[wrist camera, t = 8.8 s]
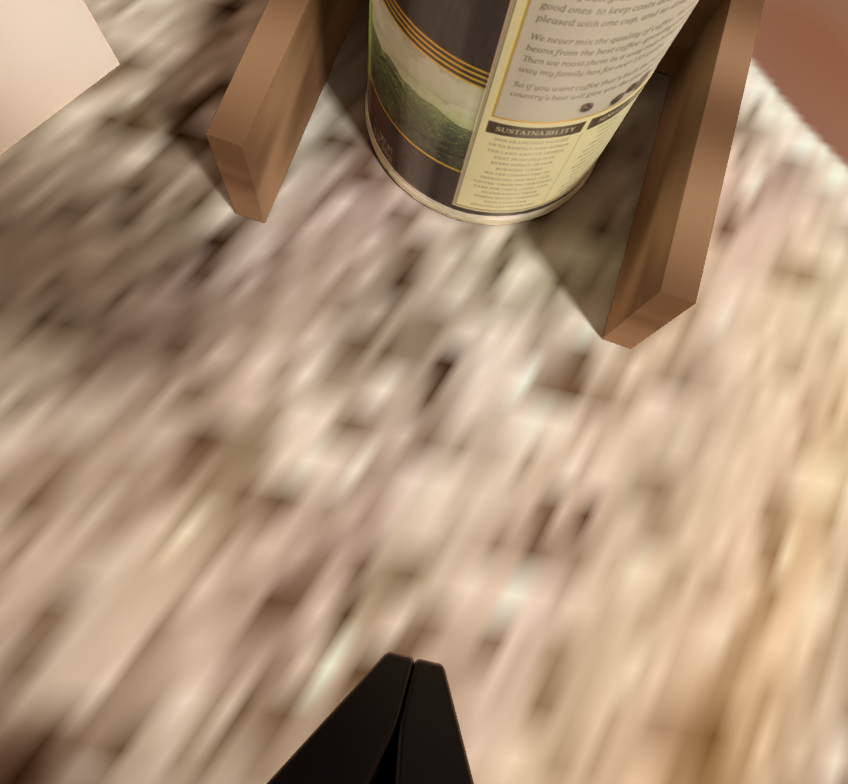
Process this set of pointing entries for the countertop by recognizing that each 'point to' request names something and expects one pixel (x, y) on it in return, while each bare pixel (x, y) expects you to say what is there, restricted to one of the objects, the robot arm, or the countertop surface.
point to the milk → (46, 61)
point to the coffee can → (506, 95)
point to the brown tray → (665, 177)
